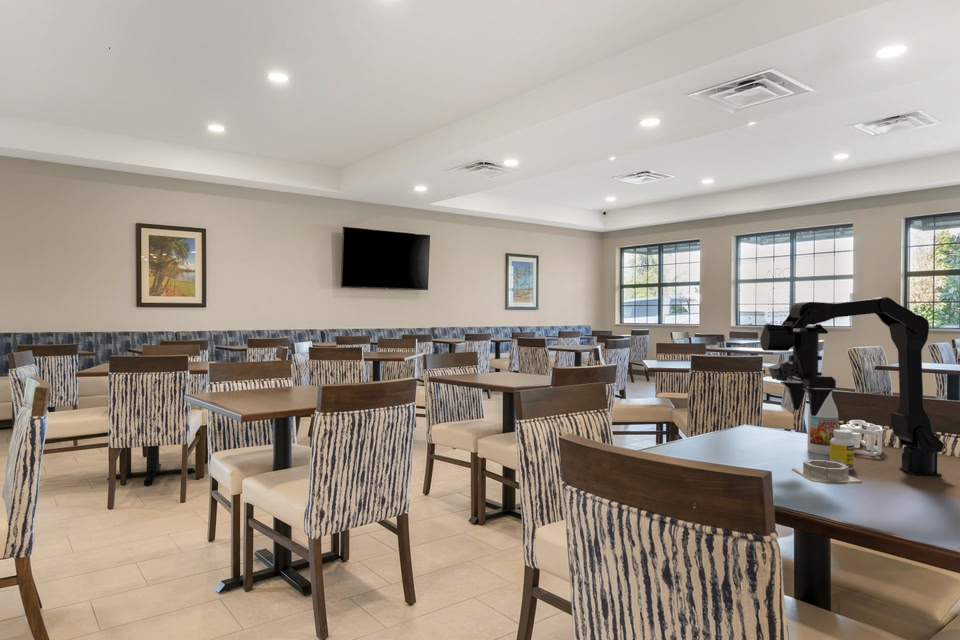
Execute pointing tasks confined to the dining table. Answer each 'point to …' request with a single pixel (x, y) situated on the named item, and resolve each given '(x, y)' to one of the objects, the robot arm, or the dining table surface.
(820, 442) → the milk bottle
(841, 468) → the octagonal ring stand
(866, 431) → the skeletal toy car
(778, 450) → the dining table surface
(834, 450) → the supplement bottle
